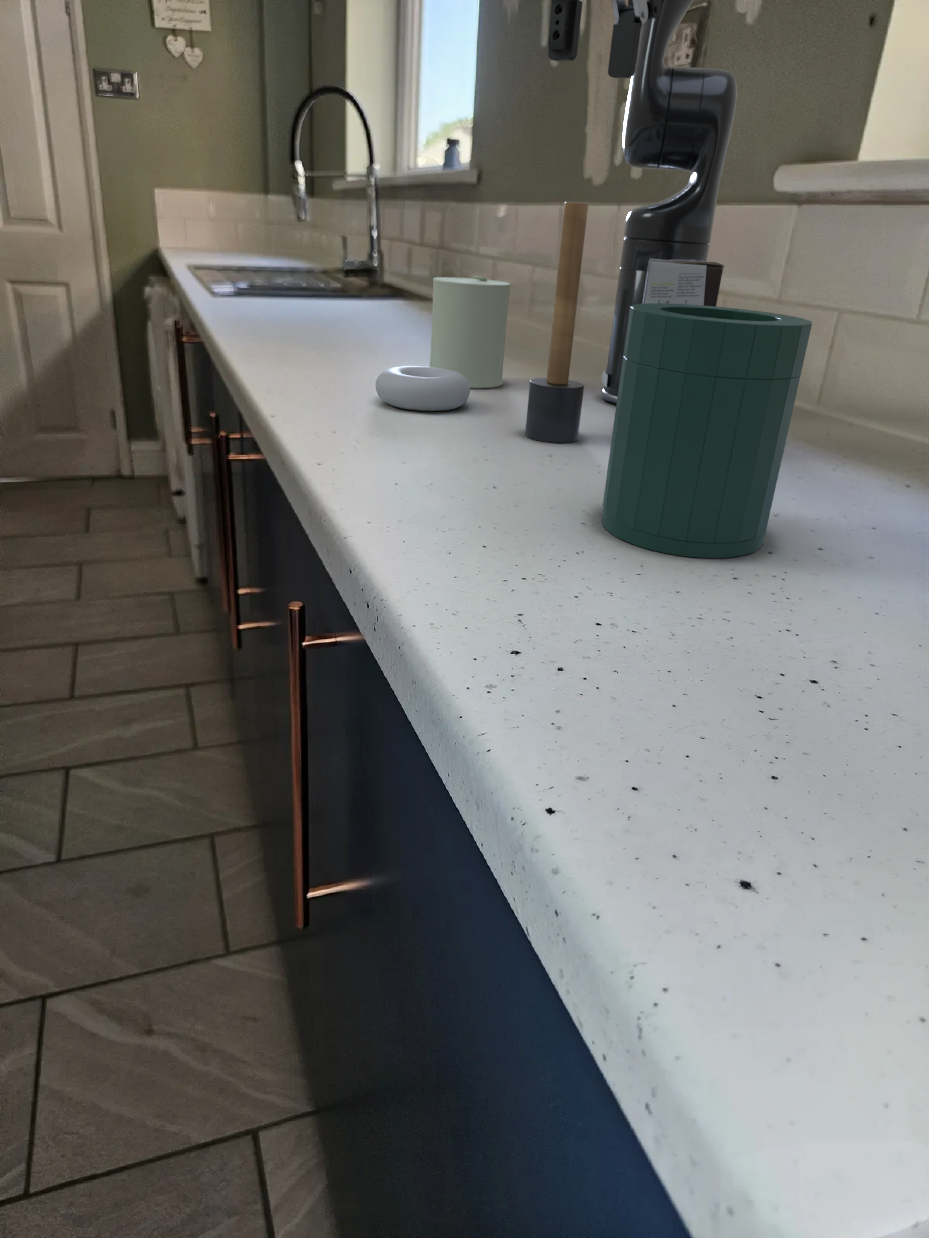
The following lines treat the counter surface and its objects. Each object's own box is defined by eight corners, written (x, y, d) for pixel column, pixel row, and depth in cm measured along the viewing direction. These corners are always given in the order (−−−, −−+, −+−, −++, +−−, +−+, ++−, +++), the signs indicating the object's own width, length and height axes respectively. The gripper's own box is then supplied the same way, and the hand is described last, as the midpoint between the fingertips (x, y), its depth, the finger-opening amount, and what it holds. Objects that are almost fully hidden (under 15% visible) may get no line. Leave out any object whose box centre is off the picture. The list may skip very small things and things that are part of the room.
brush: (543, 428, 85) (567, 203, 77) (587, 437, 83) (616, 206, 74) (514, 435, 82) (535, 199, 73) (559, 445, 79) (586, 202, 71)
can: (512, 381, 109) (521, 278, 104) (488, 392, 101) (496, 281, 96) (444, 372, 112) (450, 271, 107) (415, 382, 104) (420, 274, 99)
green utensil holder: (646, 496, 66) (677, 301, 60) (786, 532, 60) (835, 320, 54) (571, 526, 58) (598, 306, 52) (723, 571, 52) (773, 329, 46)
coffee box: (692, 453, 80) (725, 264, 73) (621, 445, 81) (648, 258, 74) (688, 432, 88) (718, 260, 81) (624, 425, 89) (649, 255, 82)
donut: (434, 420, 86) (487, 404, 94) (436, 384, 85) (489, 372, 92) (355, 404, 91) (411, 390, 98) (355, 370, 89) (412, 359, 97)
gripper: (628, -152, 69) (600, 84, 76) (520, -223, 59) (499, 56, 66) (714, -170, 65) (677, 82, 72) (614, -250, 55) (581, 51, 62)
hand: (592, 69), depth 69 cm, fingers open, 8 cm apart
